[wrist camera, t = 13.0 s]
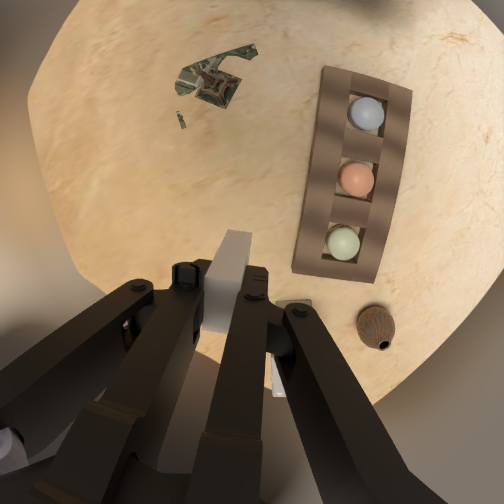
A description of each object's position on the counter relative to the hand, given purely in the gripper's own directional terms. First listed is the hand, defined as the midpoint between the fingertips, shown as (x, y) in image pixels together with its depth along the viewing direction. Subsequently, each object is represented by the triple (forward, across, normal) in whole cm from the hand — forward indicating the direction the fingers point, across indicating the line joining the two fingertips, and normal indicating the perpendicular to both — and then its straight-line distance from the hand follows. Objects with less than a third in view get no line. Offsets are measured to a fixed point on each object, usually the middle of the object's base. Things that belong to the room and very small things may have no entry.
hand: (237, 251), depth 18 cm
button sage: (+26, +14, -6) cm, 30 cm away
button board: (+26, +14, +4) cm, 30 cm away
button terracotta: (+26, +14, +4) cm, 30 cm away
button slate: (+26, +14, +14) cm, 33 cm away
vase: (+27, +24, -20) cm, 41 cm away
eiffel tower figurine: (+27, -8, +15) cm, 32 cm away
